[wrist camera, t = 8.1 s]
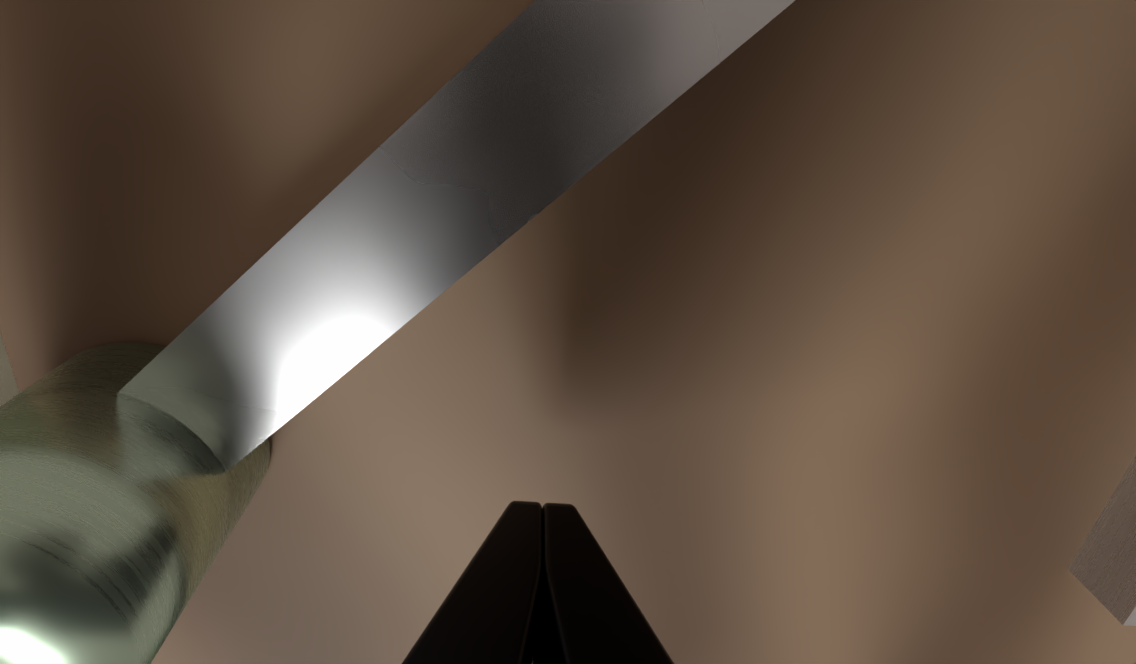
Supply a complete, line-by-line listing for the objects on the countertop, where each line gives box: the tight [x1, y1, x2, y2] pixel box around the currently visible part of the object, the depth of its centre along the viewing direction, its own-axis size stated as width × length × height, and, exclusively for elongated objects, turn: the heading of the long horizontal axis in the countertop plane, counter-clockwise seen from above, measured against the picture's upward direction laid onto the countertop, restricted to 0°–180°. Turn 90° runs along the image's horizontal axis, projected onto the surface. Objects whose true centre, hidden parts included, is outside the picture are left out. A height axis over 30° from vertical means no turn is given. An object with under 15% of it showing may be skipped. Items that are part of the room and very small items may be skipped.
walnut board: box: [0, 0, 1136, 664], centre depth 9 cm, size 20×28×2 cm
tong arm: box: [0, 0, 795, 664], centre depth 6 cm, size 22×3×4 cm, turn 129°
